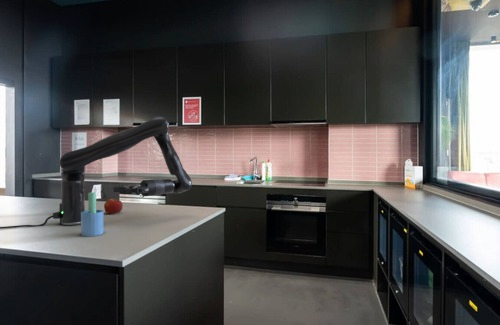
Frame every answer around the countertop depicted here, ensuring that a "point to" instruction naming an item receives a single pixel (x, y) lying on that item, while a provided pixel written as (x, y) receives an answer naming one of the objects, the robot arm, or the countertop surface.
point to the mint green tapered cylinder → (92, 202)
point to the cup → (92, 223)
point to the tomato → (113, 206)
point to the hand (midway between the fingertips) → (118, 190)
